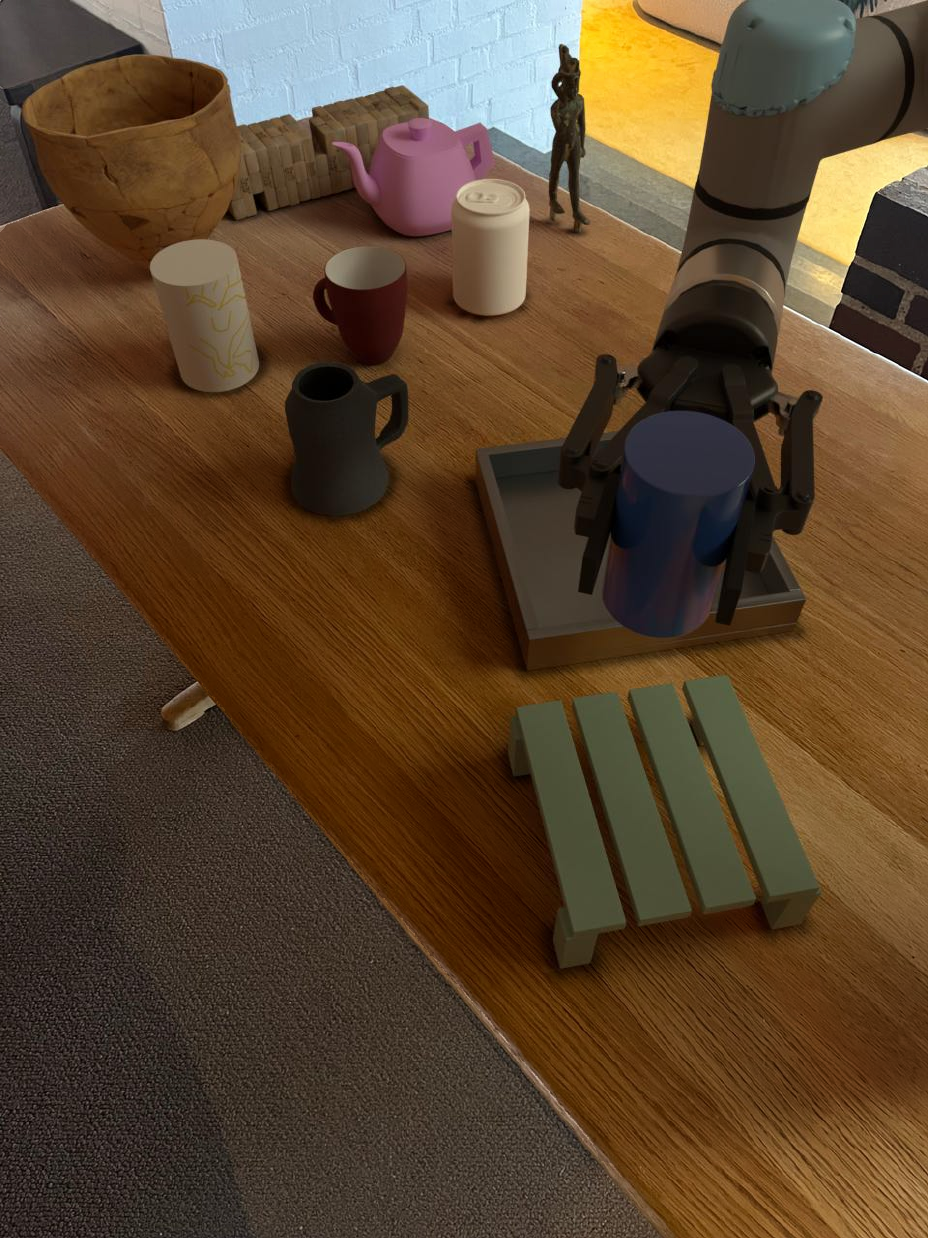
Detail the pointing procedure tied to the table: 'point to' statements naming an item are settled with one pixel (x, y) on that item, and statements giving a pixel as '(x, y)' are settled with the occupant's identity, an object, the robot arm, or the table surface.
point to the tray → (551, 564)
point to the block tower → (315, 149)
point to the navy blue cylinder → (674, 520)
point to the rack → (635, 818)
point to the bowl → (139, 149)
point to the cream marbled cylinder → (206, 314)
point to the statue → (567, 135)
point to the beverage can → (490, 246)
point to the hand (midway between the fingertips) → (656, 590)
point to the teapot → (419, 173)
